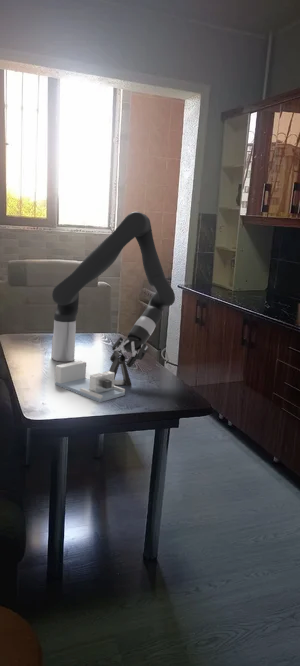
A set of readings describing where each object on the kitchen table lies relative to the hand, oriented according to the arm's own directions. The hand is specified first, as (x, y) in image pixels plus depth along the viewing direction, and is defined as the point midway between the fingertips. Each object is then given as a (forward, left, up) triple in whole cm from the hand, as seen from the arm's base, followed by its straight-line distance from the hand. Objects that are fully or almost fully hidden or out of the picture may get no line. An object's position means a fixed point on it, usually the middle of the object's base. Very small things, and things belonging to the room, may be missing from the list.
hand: (119, 363), depth 191 cm
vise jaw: (+6, -14, -6) cm, 17 cm away
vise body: (-1, -14, -8) cm, 16 cm away
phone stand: (0, 0, -8) cm, 8 cm away
